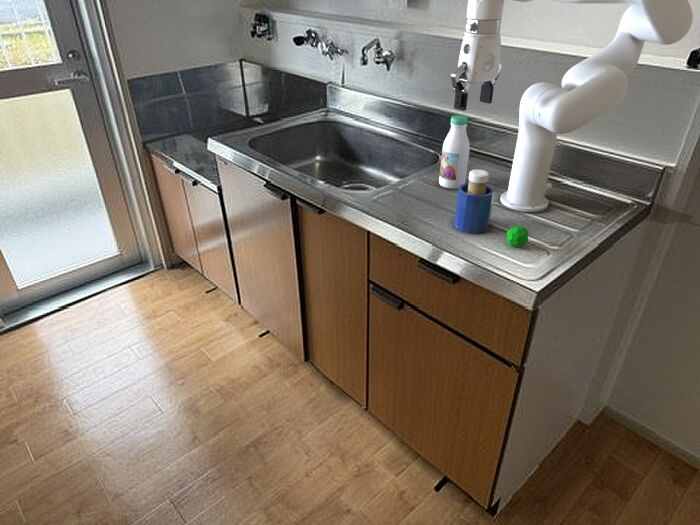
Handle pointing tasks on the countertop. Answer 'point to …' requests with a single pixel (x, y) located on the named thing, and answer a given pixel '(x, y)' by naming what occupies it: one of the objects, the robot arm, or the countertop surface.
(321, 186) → the countertop surface
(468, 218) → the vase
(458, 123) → the milk bottle
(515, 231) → the polyhedron
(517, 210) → the robot arm
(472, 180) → the sprinkles bottle
